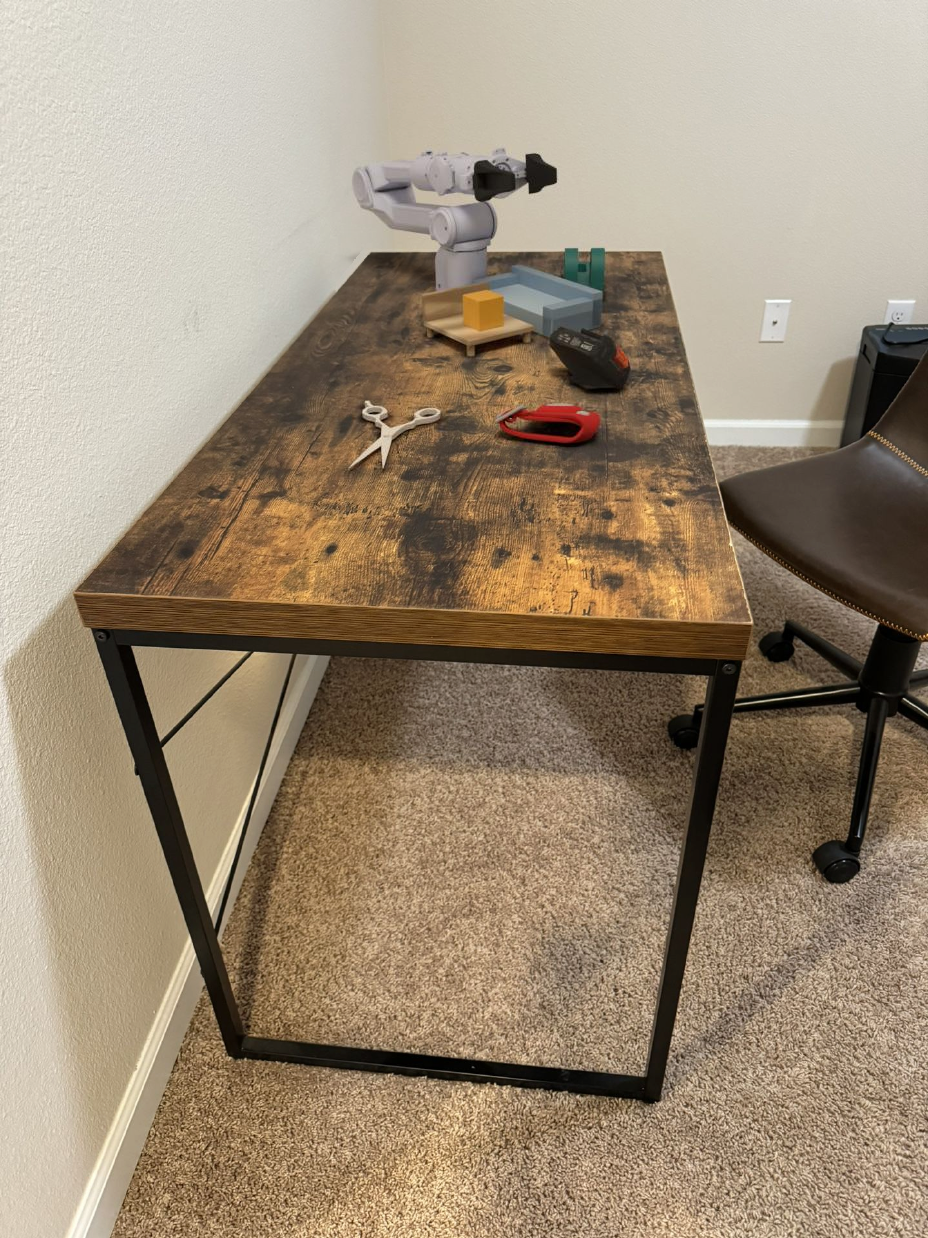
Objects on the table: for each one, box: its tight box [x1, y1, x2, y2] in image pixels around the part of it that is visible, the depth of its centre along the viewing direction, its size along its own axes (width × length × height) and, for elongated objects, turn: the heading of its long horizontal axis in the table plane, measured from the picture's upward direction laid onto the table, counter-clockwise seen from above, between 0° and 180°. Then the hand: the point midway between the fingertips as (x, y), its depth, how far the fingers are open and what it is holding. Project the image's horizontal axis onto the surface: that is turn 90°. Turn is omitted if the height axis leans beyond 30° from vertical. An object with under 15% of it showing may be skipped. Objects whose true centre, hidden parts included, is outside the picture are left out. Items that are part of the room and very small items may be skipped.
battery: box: [548, 326, 632, 391], centre depth 124 cm, size 12×8×7 cm
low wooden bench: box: [421, 281, 534, 358], centre depth 141 cm, size 13×12×6 cm
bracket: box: [562, 247, 606, 302], centre depth 163 cm, size 18×7×8 cm, turn 175°
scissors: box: [347, 400, 441, 469], centre depth 112 cm, size 11×1×20 cm
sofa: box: [472, 263, 604, 339], centre depth 150 cm, size 22×10×6 cm, turn 33°
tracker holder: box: [494, 402, 601, 444], centre depth 111 cm, size 12×4×10 cm
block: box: [463, 290, 504, 331], centre depth 139 cm, size 4×4×4 cm
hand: (534, 178), depth 135 cm, fingers open, 7 cm apart
